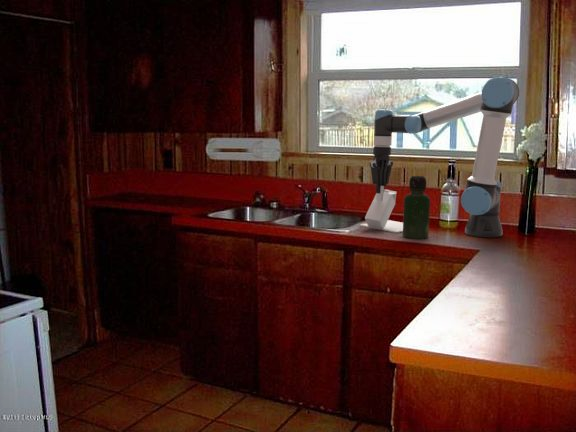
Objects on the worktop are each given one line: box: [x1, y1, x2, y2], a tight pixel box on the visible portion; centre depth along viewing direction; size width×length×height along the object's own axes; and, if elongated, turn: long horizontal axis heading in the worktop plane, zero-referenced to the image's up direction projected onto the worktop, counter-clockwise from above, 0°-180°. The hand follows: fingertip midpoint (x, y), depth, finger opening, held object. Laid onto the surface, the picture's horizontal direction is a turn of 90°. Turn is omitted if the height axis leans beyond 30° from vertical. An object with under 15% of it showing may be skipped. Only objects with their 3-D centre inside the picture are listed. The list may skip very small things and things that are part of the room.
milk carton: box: [364, 188, 398, 231], centre depth 275 cm, size 7×7×19 cm
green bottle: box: [402, 175, 431, 240], centre depth 256 cm, size 10×10×25 cm
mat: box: [359, 219, 403, 234], centre depth 280 cm, size 22×20×1 cm
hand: (379, 200), depth 272 cm, fingers closed
